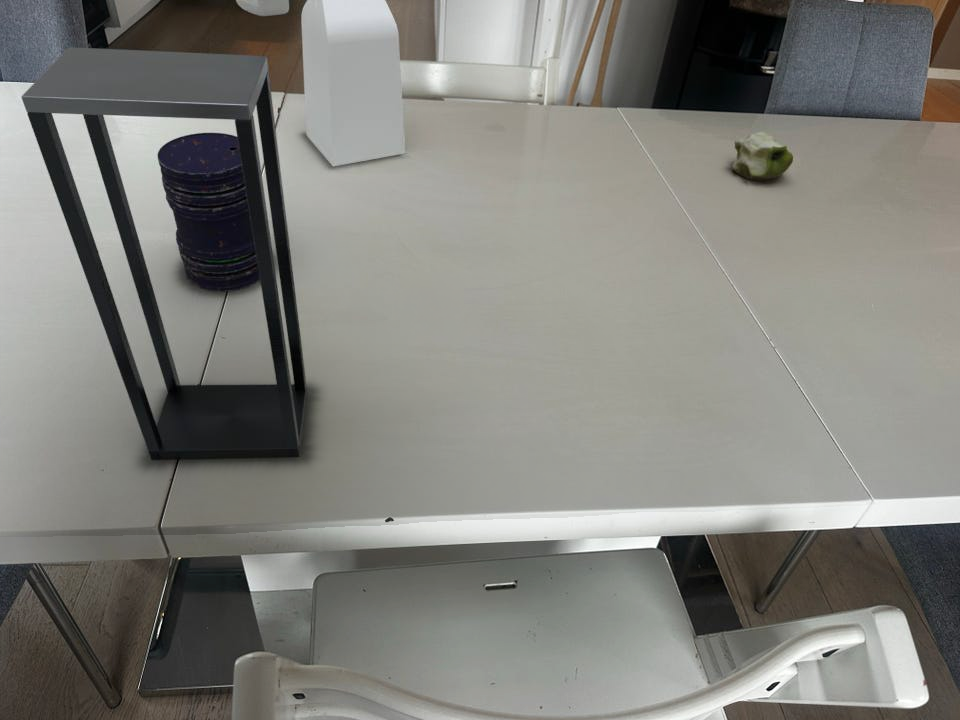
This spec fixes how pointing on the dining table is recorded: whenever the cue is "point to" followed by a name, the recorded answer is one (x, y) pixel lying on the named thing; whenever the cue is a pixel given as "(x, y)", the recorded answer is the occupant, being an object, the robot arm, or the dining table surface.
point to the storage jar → (210, 210)
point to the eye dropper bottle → (265, 6)
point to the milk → (352, 80)
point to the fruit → (761, 157)
